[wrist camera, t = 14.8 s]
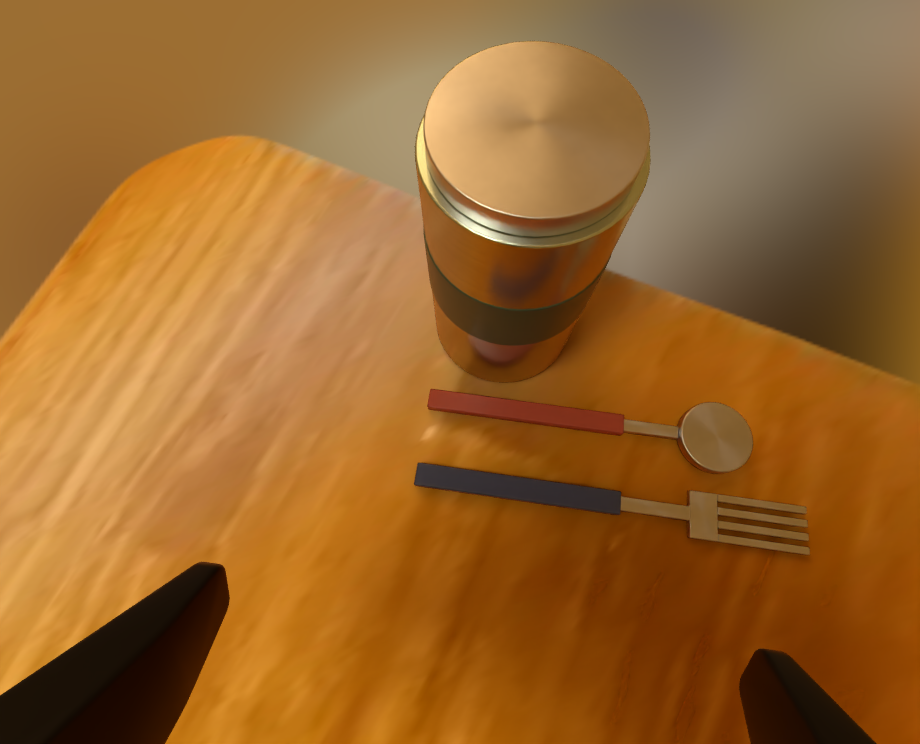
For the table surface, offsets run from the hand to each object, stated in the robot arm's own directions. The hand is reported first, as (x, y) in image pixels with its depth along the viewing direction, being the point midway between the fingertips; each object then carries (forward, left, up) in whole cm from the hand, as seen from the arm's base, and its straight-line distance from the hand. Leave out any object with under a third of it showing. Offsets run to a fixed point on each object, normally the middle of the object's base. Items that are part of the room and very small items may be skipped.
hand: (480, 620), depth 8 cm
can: (+8, +8, -13) cm, 18 cm away
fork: (+7, -1, -13) cm, 15 cm away
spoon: (+9, +2, -13) cm, 16 cm away
